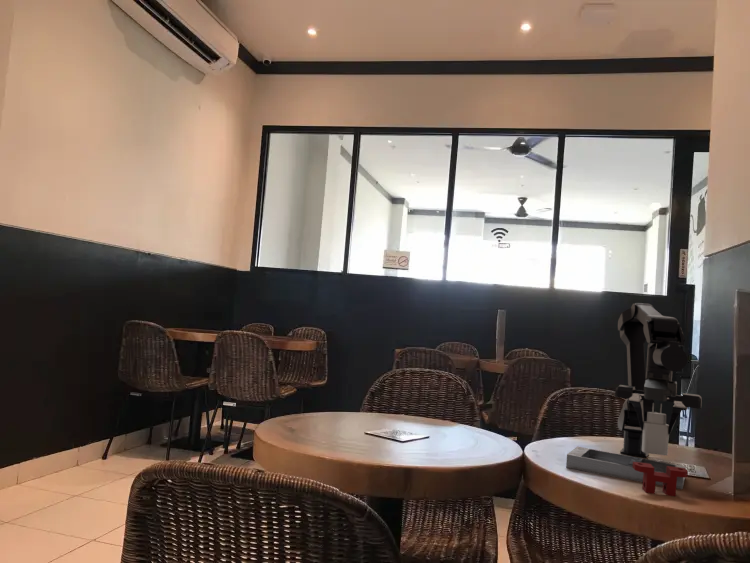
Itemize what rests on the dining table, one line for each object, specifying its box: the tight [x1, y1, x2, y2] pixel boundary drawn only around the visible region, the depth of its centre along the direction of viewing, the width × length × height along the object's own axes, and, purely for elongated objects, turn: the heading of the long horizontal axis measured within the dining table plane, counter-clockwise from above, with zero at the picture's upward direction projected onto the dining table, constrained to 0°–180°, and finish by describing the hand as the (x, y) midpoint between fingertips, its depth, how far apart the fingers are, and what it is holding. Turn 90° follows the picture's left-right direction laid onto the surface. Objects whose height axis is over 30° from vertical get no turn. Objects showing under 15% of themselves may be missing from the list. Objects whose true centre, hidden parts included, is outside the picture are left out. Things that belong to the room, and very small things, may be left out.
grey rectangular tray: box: [565, 445, 687, 490], centre depth 134 cm, size 12×24×3 cm, turn 59°
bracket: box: [633, 462, 689, 497], centre depth 118 cm, size 3×6×10 cm
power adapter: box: [642, 402, 670, 456], centre depth 141 cm, size 3×5×12 cm, turn 82°
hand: (655, 431), depth 141 cm, fingers closed on power adapter, 6 cm apart
